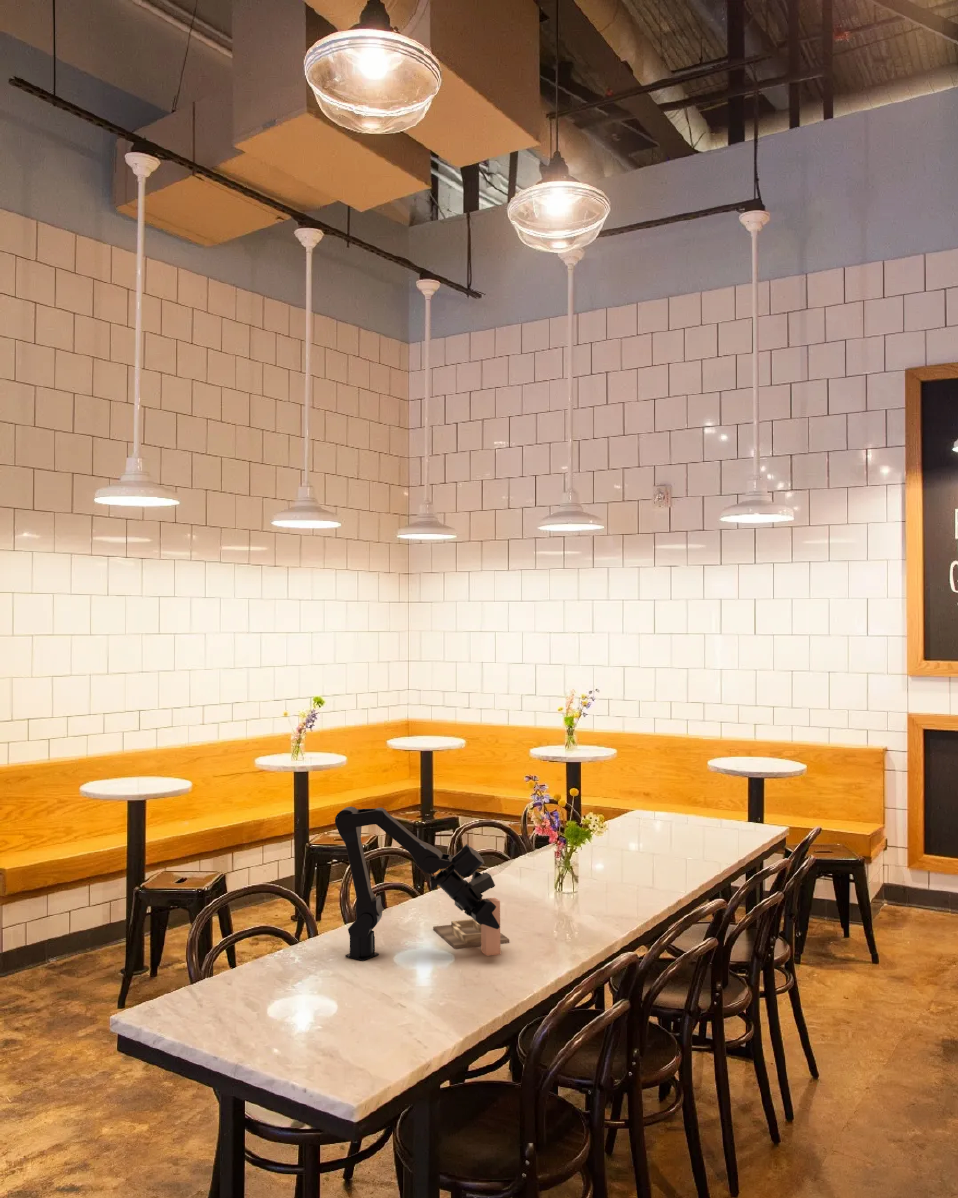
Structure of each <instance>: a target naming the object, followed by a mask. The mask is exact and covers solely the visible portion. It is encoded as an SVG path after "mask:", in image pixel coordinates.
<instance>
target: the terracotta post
mask: <svg viewBox="0 0 958 1198" xmlns="http://www.w3.org/2000/svg"><path fill="white" fill-rule="evenodd" d="M482 899H483V898H482ZM482 899H481V901H482ZM485 899H488V900H490V901H491V902H492V903H493V904H494V905H495V906H496V909H495V910H494V911H493V912H492V914H493V915H494V917H495V919H496V920H497V922H498V924H499V925H500V927H499V928H498V929H495V928H492V927H489V926H486V925H483V924H481V946H480V947H481V950H480V952H481V953H483V955H485V957H487V956H496V955H501V944H500V933H501V901H500V899H497V897H487V898H485Z"/></svg>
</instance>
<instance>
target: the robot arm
mask: <svg viewBox="0 0 958 1198" xmlns="http://www.w3.org/2000/svg"><path fill="white" fill-rule="evenodd" d="M334 824H335V827H336V829H337V832H338V834H339V836H340V838H341V840H342V841H343V843H344V844H345V845H344V846H345V849H346V853H347V858H348V862H349V867H350V871H351V878H352V881H353V882H352V883H353V886H354V890H355V895H356V897H355V898H356V901H355V920H354V921H353V923H352V924H351V925H350V926H349V927H348V928H347V932H348V935H349V953H346V954H345V955H344V956H345V957H346V958H350V959H353V960H358V961H366V960H368V959H369V960H370V959H371V958H374V957H376V956H379V952H375V951H376V947H375V945H376V943H375V942H376V936H375V930H374V928H375V927H376V926H377V924H379V923H380V920H382V917H383V911H384V910H385V908H384V907H383V904H382V896H381V894H380V895H377V896H376V895H375V893H374V891H373V889H372V885H371V881H370V876H369V870H368V866H367V862H366V858H365V853H364V847H363V843H362V827H366V826H371V825H376V826H378V827H379V829H381V830H382V831H383V832H384V833H386V834H387V835H388V836H389V837H390V838H392V839H393V841H395V842H397V844H399V845H400V846H401V847H402V848H403V849H405V850H406V851H407V852H408V853H409V854H410V856H411V857H412V858H413V860H414V862H415V863H416V864H417V866H418V867H419V868H420V869H421V870H422V871H423V873H425V874H428V875H430V874H431V875H430V876H429V886H430V890H431V891H434V889H436V888H437V887H439V888H440V889H442V890H443V892H444V893H446V894H447V895H448V896H449V898H450V899H451V900H453V901H454V906H455V907H457V908H458V909H459V910H460V911H462V912H463V911H464V914H465V915H467V916H468V917H471V919H474V920H475V921H476V922H477V923H479V924H480V925H481V924H483V925H486V926H489V927H492V928H495V929H498V928H499V927H500V928H501V924H500V925H499V924H498V922H497V920H496V919H495V917H494V915H493V914H492V912H493V911H494V910H495V909H496V906H495V905H494V904H493V903H492V902H491V901H490V900H488V899H486V898H483V897H484V895H483V893H486V891H488V890H490V889H493V888H495V887H496V884H495V882H494V879H493V876H491V874H490V873H488V872H484V871H483V872H482V873H481V872H480V871H478V870H479V868H480V867H482V866H483V865H484V864H485V861H484V859H483V857H482V856H481V854H480V853H479V852H478V851H477V850H475V849H474V848H473V847H472V846H470V845H469V844H468V843H465V844H464V846H463V847H461V849H460V850H458V852H457V853H456V854H455V855H454V854H453V855H452V854H449V853H444V852H442V851H441V850H440V849H439V848H437V847H435V846H433V845H432V844H430V843H427V842H425V841H424V840H422V839H419V838H418V837H417V836H416V835H414V834H413V833H412V832H411V830H409V829H407V828H406V827H405V826H404V825H403V824H401V823H400V822H399V821H398V820H397V819H396V818H394V817H393V816H392V815H391V814H390V813H388V811H387V810H386V809H385V808H384V807H377V808H356V807H354V806H347V807H344V808H343V809H342V810H340V811H339V812H338V813H337V814H336V816H335V817H334ZM439 870H440V871H439ZM436 873H437V874H436ZM432 874H436V875H432ZM470 876H471V879H470V880H469V882H468V880H466V879H464V877H467V878H470ZM481 899H482V901H481Z"/></svg>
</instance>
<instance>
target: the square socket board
mask: <svg viewBox="0 0 958 1198" xmlns="http://www.w3.org/2000/svg"><path fill="white" fill-rule="evenodd" d="M450 922H451V924H443V925H437V926H436V925H434V926H433V927H432V930H433V931H434V933H436V934H437V935H438V936H439V937H440V938H441V939H443V940H444V941H445V942H446V943H447V944H448V945H449V946H451V947H452V948H453V949H454V950H456V949H464V948H466V949H467V948H474V947H481V925H480V924H479V923H477V922H476V921H475V920H474V919H473V918H471V919H461V920H453V921H452V920H451V921H450ZM508 943H510V938H508V937H507V936H506V935H504V934H503V933H501V932H500V945H501V944H502V945H503V944H508Z"/></svg>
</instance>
